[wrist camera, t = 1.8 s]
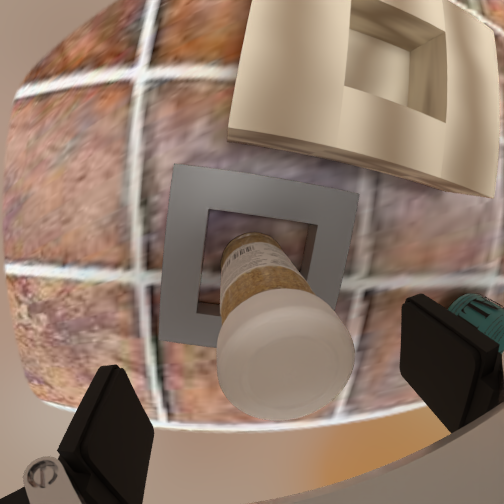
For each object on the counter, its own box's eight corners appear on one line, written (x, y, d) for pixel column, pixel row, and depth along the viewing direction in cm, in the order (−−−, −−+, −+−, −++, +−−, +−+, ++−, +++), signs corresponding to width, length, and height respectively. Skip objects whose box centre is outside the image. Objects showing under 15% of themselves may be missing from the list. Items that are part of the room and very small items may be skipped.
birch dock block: (451, 48, 19) (493, 30, 13) (444, 191, 22) (493, 198, 16) (258, -20, 17) (267, -65, 11) (227, 141, 20) (227, 127, 14)
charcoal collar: (348, 192, 22) (359, 193, 20) (315, 342, 24) (322, 355, 22) (178, 164, 20) (173, 163, 18) (163, 327, 23) (158, 339, 21)
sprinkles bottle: (237, 302, 23) (253, 441, 10) (209, 247, 22) (188, 349, 9) (294, 275, 23) (372, 390, 10) (269, 219, 22) (334, 283, 8)
